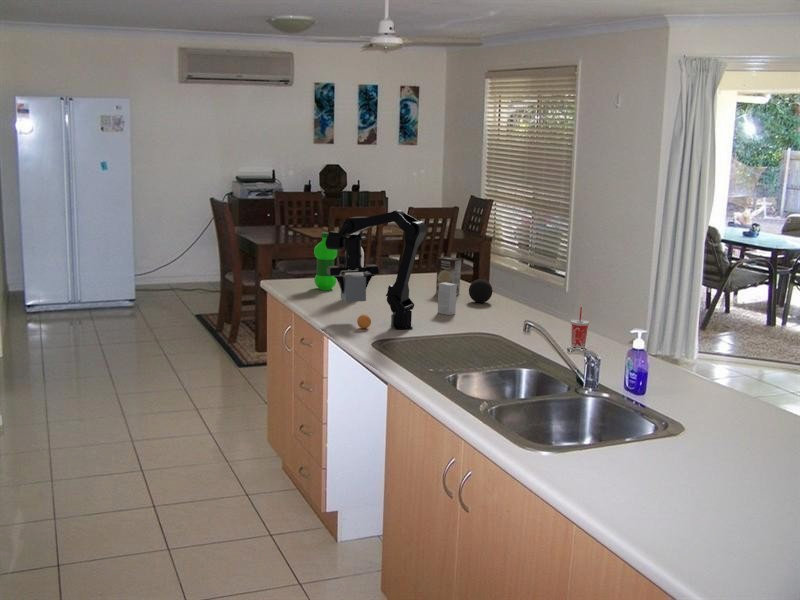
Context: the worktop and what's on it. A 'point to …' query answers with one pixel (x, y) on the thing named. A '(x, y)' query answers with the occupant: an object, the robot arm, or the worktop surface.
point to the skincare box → (447, 298)
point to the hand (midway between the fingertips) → (353, 292)
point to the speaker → (480, 291)
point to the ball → (364, 321)
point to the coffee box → (448, 272)
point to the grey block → (354, 288)
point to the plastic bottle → (324, 264)
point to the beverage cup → (579, 332)
